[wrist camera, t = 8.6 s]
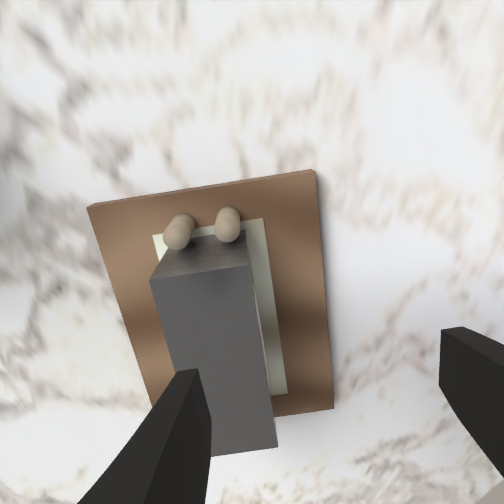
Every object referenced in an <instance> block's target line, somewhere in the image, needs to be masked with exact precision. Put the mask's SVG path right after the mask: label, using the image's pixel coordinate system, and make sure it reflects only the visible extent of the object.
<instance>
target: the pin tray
mask: <svg viewBox="0 0 504 504" xmlns="http://www.w3.org/2000/svg"><path fill="white" fill-rule="evenodd" d="M86 208H87V211H88V214H89V217H90V220H91V223H92V226H93V229H94V232H95V235H96V238H97V241H98V244H99V247H100V251H101V254H102V257H103V260H104V263H105V266H106V269H107V272H108V275H109V278H110V281H111V284H112V287H113V290H114V293H115V296H116V299H117V302H118V305H119V308H120V311H121V314H122V317H123V320H124V323H125V326H126V329H127V332H128V335H129V338H130V341H131V344H132V347H133V350H134V353H135V356H136V359H137V362H138V365H139V368H140V371H141V374H142V377H143V380H144V383H145V386H146V389H147V392H148V395H149V398H150V401H151V404H152V407H153V406H154V405H155V403H156V402H157V400H158V399H159V397H160V396H161V394H162V393H163V391H164V390H165V388H166V387H167V385H168V384H169V383H170V381H171V380H172V378H173V377H174V375H175V371H174V367H173V364H172V360H171V357H170V353H169V350H168V346H167V343H166V339H165V336H164V332H163V329H162V325H161V322H160V319H159V315H158V312H157V308H156V305H155V301H154V298H153V294H152V291H151V287H150V284H149V278H150V277H151V275H152V273H153V272H154V270H155V268H156V267H157V265H158V264H159V262H160V260H161V259H162V257H163V255H164V254H165V252H166V250H167V249H168V247H169V248H170V249H173V250H180V249H183V248H184V247H185V246H186V245H187V244H188V242H189V240H190V238H193V237H200V236H206V235H213V234H215V235H216V237H217V238H218V239H219V240H221V241H223V242H231V241H234V240H235V239H236V238H237V237H238V236H239V233H240V230H245V229H246V235H247V241H248V248H249V254H250V260H251V266H252V272H253V278H254V284H255V290H256V297H257V303H258V309H259V315H260V321H261V327H262V333H263V339H264V346H265V352H266V358H267V364H268V370H269V376H270V384H271V392H272V400H273V408H274V416H275V417H280V416H287V415H294V414H301V413H308V412H314V411H321V410H328V409H334V398H333V385H332V373H331V360H330V348H329V335H328V323H327V311H326V298H325V286H324V273H323V261H322V248H321V236H320V224H319V211H318V199H317V186H316V174H315V171H314V170H312V169H310V170H304V171H297V172H291V173H284V174H278V175H272V176H265V177H259V178H253V179H246V180H240V181H234V182H227V183H221V184H215V185H208V186H202V187H196V188H189V189H183V190H177V191H170V192H164V193H158V194H151V195H145V196H139V197H132V198H126V199H119V200H113V201H107V202H100V203H94V204H92V205H90V206H88V207H86Z"/></svg>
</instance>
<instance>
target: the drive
mask: <svg viewBox="0 0 504 504" xmlns="http://www.w3.org/2000/svg"><path fill="white" fill-rule="evenodd" d="M149 284H150V287H151V291H152V294H153V298H154V301H155V305H156V308H157V312H158V315H159V319H160V322H161V325H162V329H163V332H164V336H165V339H166V343H167V346H168V350H169V353H170V357H171V360H172V364H173V367H174V371H175V374H176V373H177V371H182V370H188V369H195V368H198V371H199V375H200V379H201V382H202V386H203V390H204V393H205V397H206V401H207V404H208V408H209V412H210V415H211V419H212V437H211V457H213V456H220V455H227V454H234V453H241V452H248V451H255V450H262V449H269V448H276V447H278V440H277V432H276V424H275V416H274V408H273V400H272V392H271V384H270V376H269V370H268V364H267V358H266V352H265V346H264V339H263V333H262V327H261V321H260V315H259V309H258V303H257V297H256V290H255V284H254V278H253V272H252V266H251V260H250V254H249V248H248V241H247V235H246V229H245V230H240V233H239V236H238V237H237V238H236V239H235V240H234V241H231V242H223V241H221V240H219V239H218V238H217V237H216V235H215V234H213V235H206V236H200V237H193V238H190V240H189V242H188V244H187V245H186V246H185V247H184V248H183V249H180V250H173V249H170V248H169V247H168V249H167V250H166V252H165V254H164V255H163V257H162V259H161V260H160V262H159V264H158V265H157V267H156V268H155V270H154V272H153V273H152V275H151V277H150V278H149Z"/></svg>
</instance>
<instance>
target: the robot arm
mask: <svg viewBox="0 0 504 504" xmlns="http://www.w3.org/2000/svg"><path fill="white" fill-rule="evenodd" d="M439 387H440V388H441V390H442V392H443V394H444V395H445V397H446V399H447V401H448V402H449V404H450V406H451V407H452V409H453V411H454V412H455V414H456V415H457V417H458V419H459V420H460V421H461V423H462V424H463V425H464V427H465V428H466V429H467V431H468V432H469V433H470V435H471V436H472V437H473V439H474V440H475V441H476V443H477V444H478V445H479V447H480V448H481V449H482V450H483V452H484V453H485V454H486V456H487V457H488V458H489V460H490V461H491V462H492V463H493V465H494V466H495V467H496V469H497V470H498V471H499V472H500V474H501V475H502V476H503V478H504V345H503V344H501V343H499V342H497V341H495V340H492V339H490V338H488V337H486V336H484V335H481V334H479V333H477V332H475V331H472V330H470V329H467V328H465V327H455V328H449V329H443V330H441V344H440V367H439ZM211 437H212V419H211V415H210V412H209V408H208V404H207V401H206V397H205V393H204V390H203V386H202V382H201V379H200V375H199V371H198V368H195V369H188V370H182V371H177V373H176V374H175V375H174V377H173V378H172V380H171V381H170V383H169V384H168V385H167V387H166V388H165V390H164V391H163V393H162V394H161V396H160V397H159V399H158V400H157V402H156V403H155V405H154V406H153V408H152V409H151V411H150V412H149V414H148V415H147V416H146V418H145V419H144V421H143V422H142V423H141V425H140V426H139V428H138V429H137V430H136V432H135V433H134V435H133V436H132V437H131V439H130V440H129V441H128V443H127V444H126V445H125V446H124V448H123V449H122V450H121V452H120V453H119V454H118V455H117V457H116V458H115V459H114V461H113V462H112V463H111V464H110V466H109V467H108V468H107V469H106V471H105V472H104V473H103V474H102V476H101V477H100V478H99V479H98V480H97V482H96V483H95V484H94V485H93V486H92V487H91V489H90V490H89V491H88V492H87V493H86V494H85V495H84V496H83V498H82V499H81V500H80V501H79V502H78V503H77V504H205V498H206V490H207V483H208V475H209V468H210V460H211Z"/></svg>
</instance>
